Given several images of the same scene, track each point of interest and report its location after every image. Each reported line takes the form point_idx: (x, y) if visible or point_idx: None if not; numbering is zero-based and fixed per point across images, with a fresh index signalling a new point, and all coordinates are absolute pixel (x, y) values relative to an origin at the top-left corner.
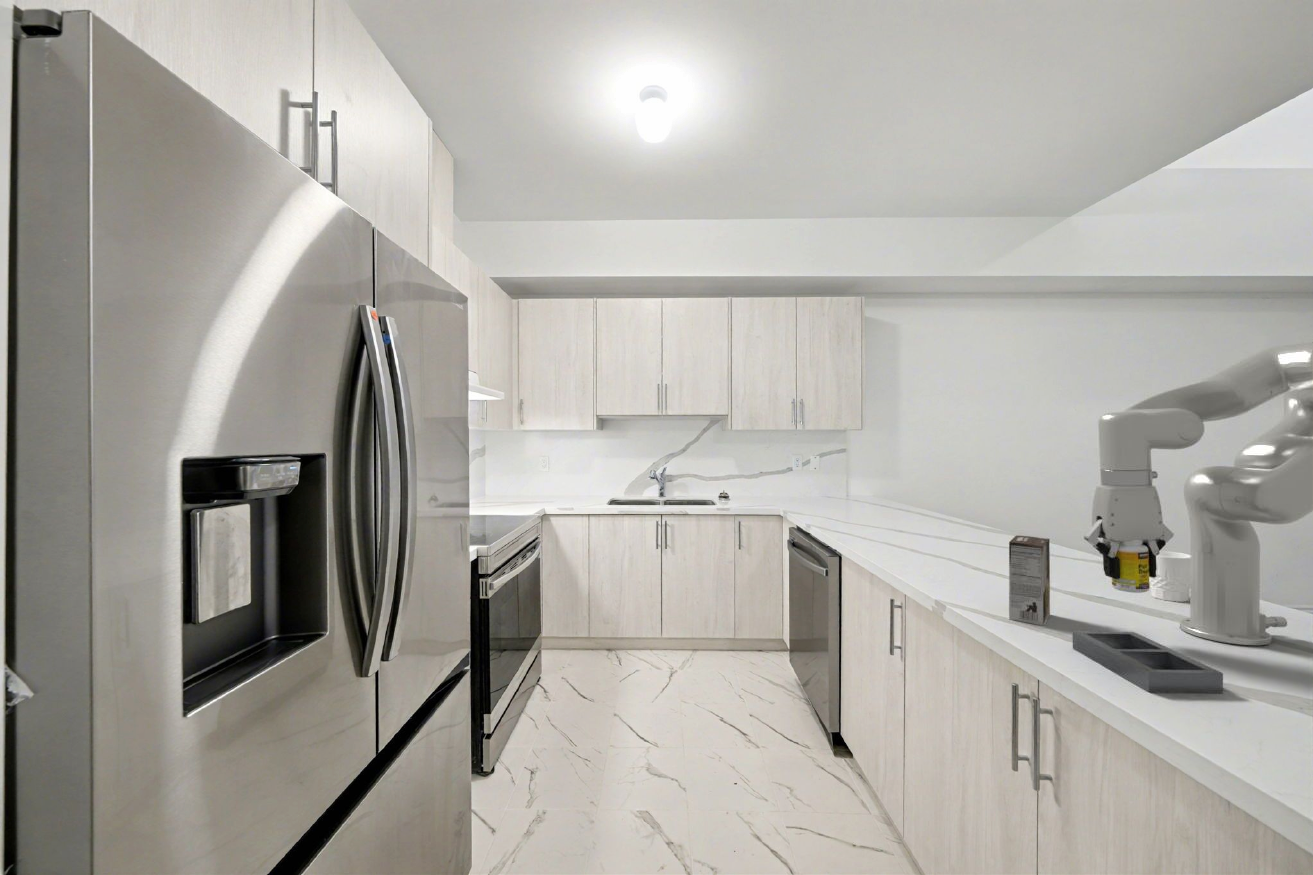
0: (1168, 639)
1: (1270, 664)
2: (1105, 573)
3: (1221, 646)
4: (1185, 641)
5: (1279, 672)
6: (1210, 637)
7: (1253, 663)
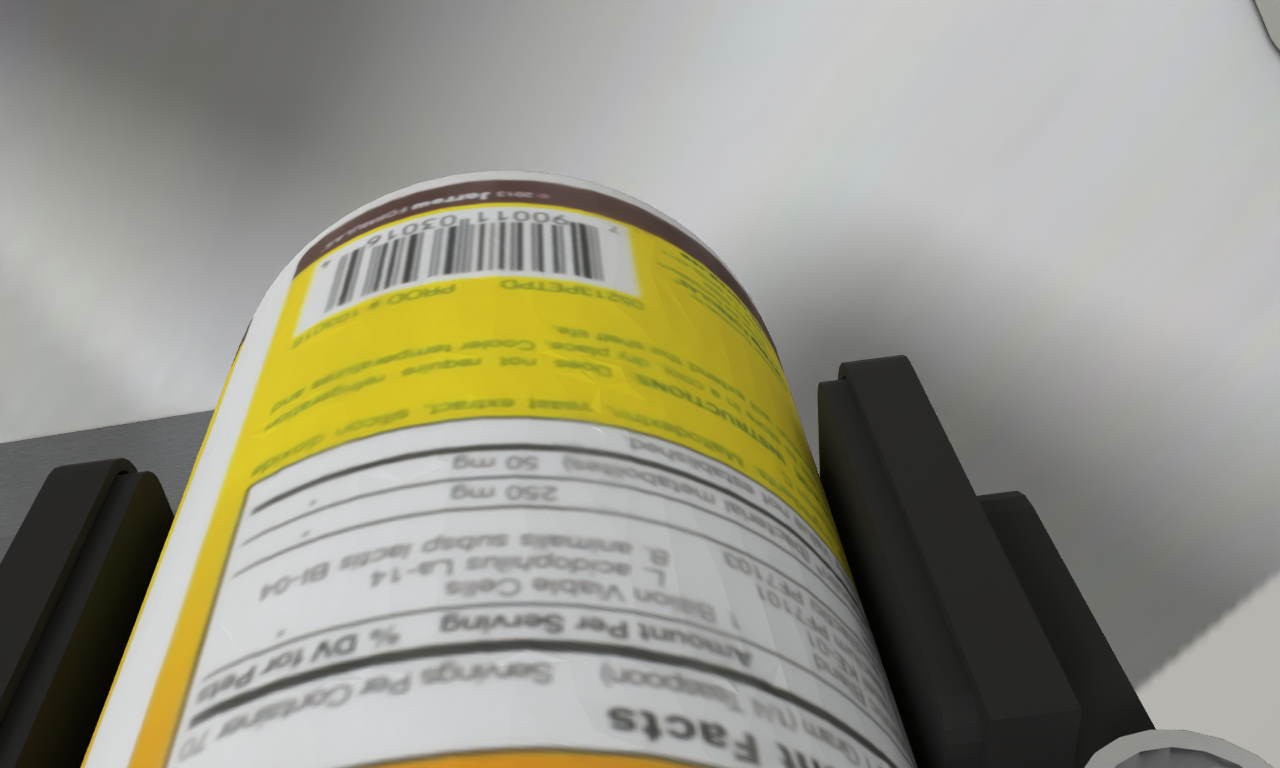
0: (881, 41)
1: (1198, 500)
2: (59, 489)
3: (1215, 169)
4: (1004, 78)
5: (1112, 619)
6: (1276, 37)
7: (1099, 505)
